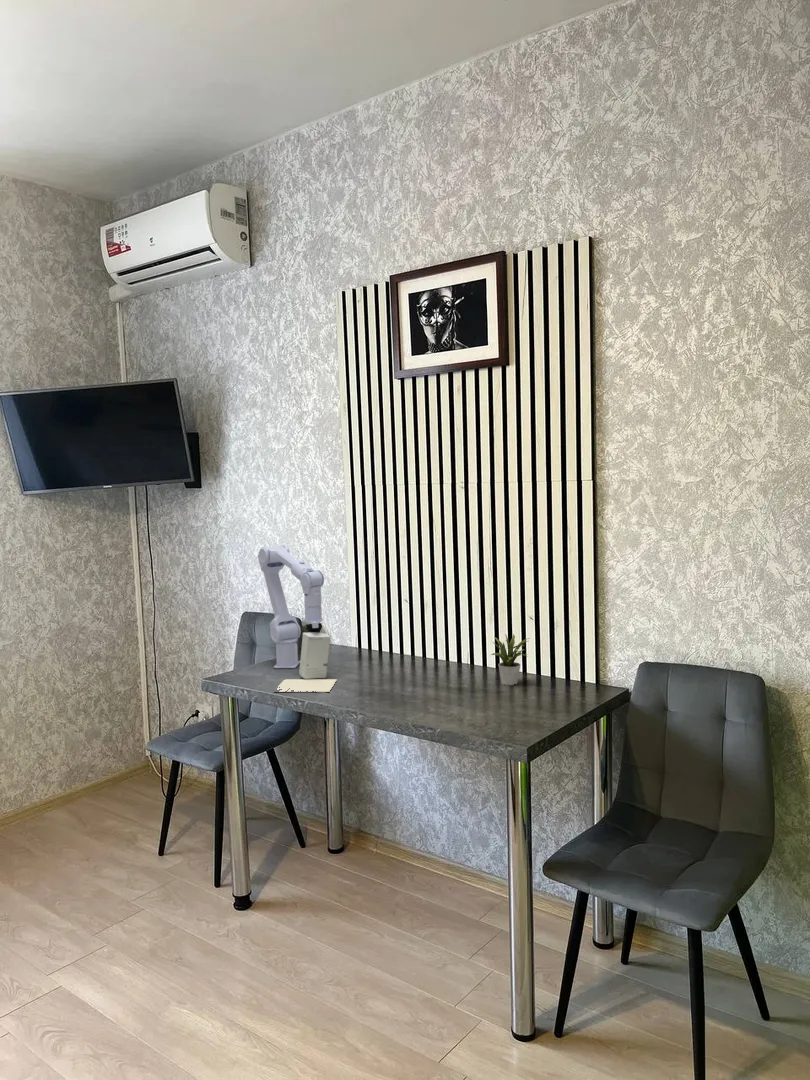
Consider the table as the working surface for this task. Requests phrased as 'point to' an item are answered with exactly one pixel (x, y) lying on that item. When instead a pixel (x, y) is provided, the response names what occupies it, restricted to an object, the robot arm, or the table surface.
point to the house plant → (509, 661)
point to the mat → (307, 685)
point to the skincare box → (314, 655)
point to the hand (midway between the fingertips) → (314, 645)
